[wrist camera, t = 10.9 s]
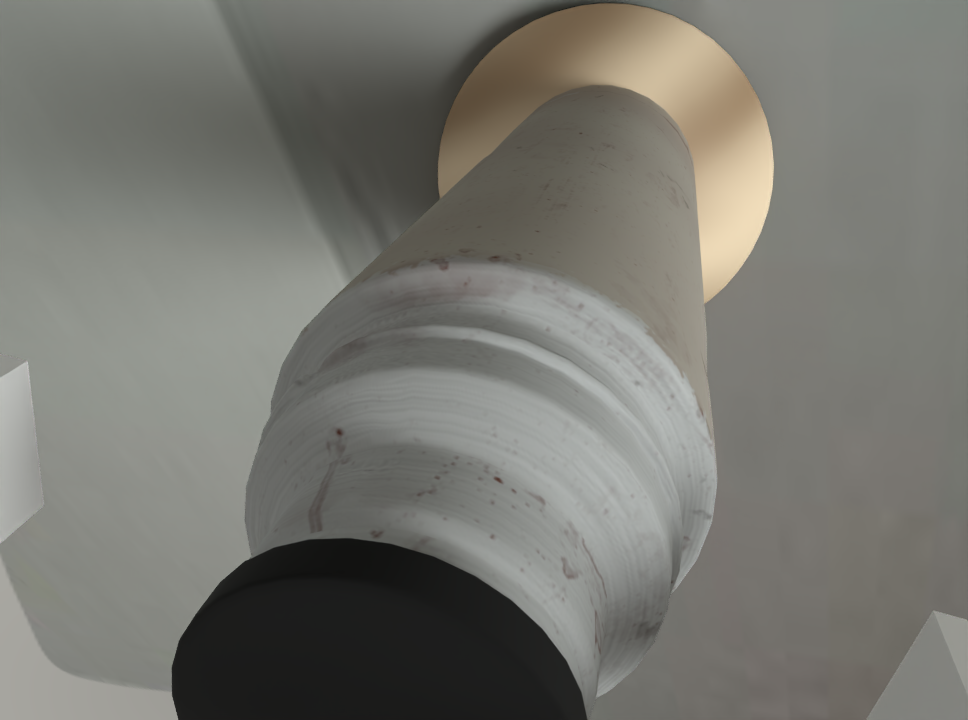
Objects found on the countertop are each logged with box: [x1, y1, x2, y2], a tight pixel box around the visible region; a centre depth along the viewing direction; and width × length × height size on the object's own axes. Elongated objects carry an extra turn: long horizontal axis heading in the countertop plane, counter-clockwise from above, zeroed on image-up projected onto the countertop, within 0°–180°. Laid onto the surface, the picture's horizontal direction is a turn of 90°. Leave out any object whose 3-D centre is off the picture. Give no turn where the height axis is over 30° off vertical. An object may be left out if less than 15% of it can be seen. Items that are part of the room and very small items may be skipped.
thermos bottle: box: [172, 85, 717, 720], centre depth 21 cm, size 8×8×28 cm
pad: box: [438, 3, 774, 304], centre depth 34 cm, size 14×14×1 cm
